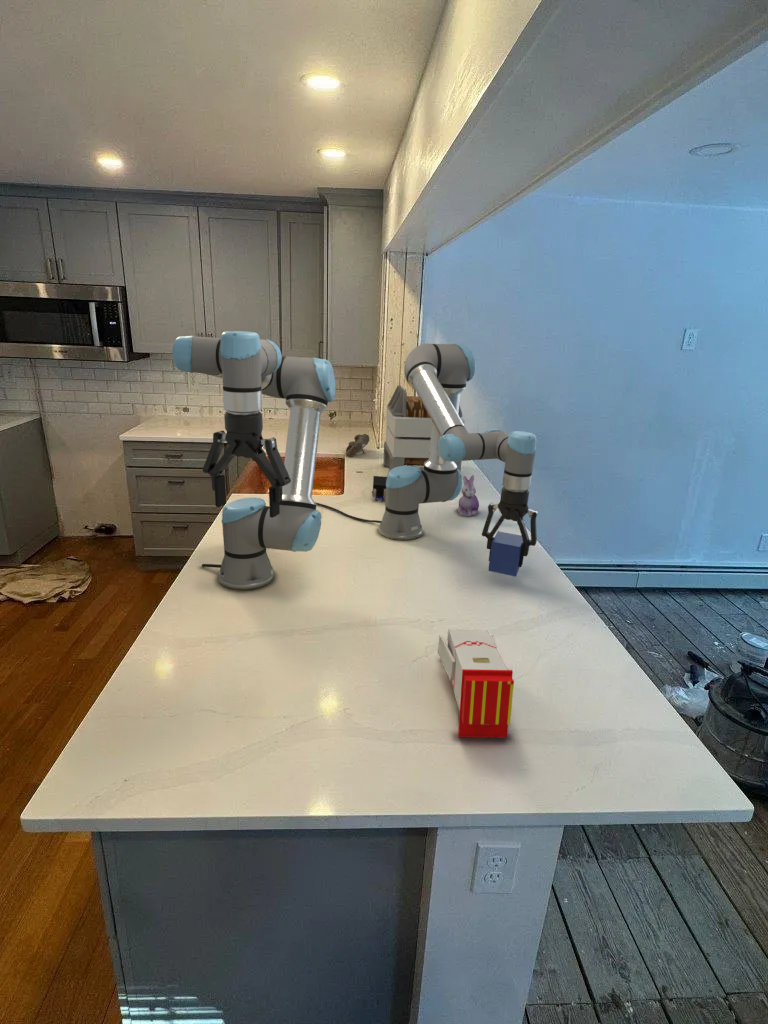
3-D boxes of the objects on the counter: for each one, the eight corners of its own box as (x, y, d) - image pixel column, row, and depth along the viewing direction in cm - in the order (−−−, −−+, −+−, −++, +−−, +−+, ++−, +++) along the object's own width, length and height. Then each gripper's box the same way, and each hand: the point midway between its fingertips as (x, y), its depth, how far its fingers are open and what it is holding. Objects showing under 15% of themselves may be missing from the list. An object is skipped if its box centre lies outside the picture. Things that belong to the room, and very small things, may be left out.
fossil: (345, 440, 316) (366, 424, 311) (356, 453, 319) (377, 438, 314) (339, 453, 297) (361, 437, 292) (350, 467, 300) (373, 452, 295)
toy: (488, 613, 130) (523, 677, 101) (484, 667, 133) (517, 744, 104) (435, 612, 130) (455, 676, 101) (432, 666, 133) (451, 743, 103)
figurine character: (387, 506, 231) (387, 491, 244) (388, 489, 228) (388, 474, 241) (371, 505, 231) (371, 490, 244) (372, 488, 227) (372, 474, 241)
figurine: (465, 518, 217) (469, 480, 212) (450, 509, 226) (454, 473, 221) (485, 515, 222) (489, 478, 217) (470, 507, 230) (473, 471, 225)
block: (516, 576, 161) (520, 547, 157) (488, 570, 163) (491, 541, 160) (520, 564, 168) (525, 536, 165) (494, 559, 171) (497, 531, 167)
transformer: (382, 463, 289) (386, 382, 275) (445, 464, 293) (451, 384, 279) (390, 482, 257) (394, 392, 243) (460, 483, 261) (468, 394, 247)
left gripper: (306, 415, 114) (307, 514, 121) (204, 403, 122) (210, 496, 129) (287, 421, 107) (288, 525, 114) (180, 407, 115) (188, 506, 123)
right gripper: (555, 490, 157) (543, 564, 165) (481, 478, 164) (473, 550, 172) (552, 498, 150) (540, 575, 158) (475, 485, 157) (467, 560, 165)
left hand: (247, 510), depth 122 cm, fingers open, 13 cm apart
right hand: (505, 562), depth 165 cm, fingers closed on block, 8 cm apart
